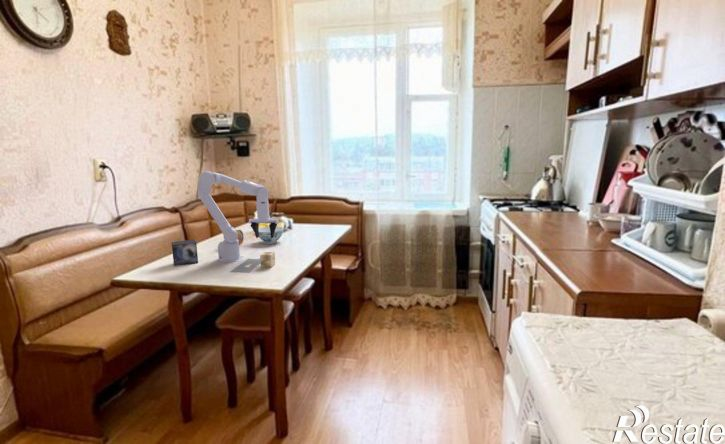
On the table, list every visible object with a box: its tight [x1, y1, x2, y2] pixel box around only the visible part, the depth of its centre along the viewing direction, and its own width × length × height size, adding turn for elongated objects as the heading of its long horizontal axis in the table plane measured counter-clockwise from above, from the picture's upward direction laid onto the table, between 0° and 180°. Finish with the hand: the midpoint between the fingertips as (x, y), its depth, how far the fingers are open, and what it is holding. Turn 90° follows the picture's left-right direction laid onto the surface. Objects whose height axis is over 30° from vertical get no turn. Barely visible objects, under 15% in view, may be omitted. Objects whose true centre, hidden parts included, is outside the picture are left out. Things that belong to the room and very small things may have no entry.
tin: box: [236, 229, 244, 246], centre depth 219 cm, size 15×3×8 cm, turn 168°
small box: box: [171, 239, 199, 267], centre depth 189 cm, size 11×6×10 cm, turn 117°
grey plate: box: [229, 258, 261, 274], centre depth 184 cm, size 9×20×1 cm, turn 173°
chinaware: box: [258, 225, 284, 245], centre depth 226 cm, size 15×15×8 cm
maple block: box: [259, 251, 276, 269], centre depth 182 cm, size 5×5×6 cm
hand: (264, 237), depth 198 cm, fingers open, 7 cm apart
